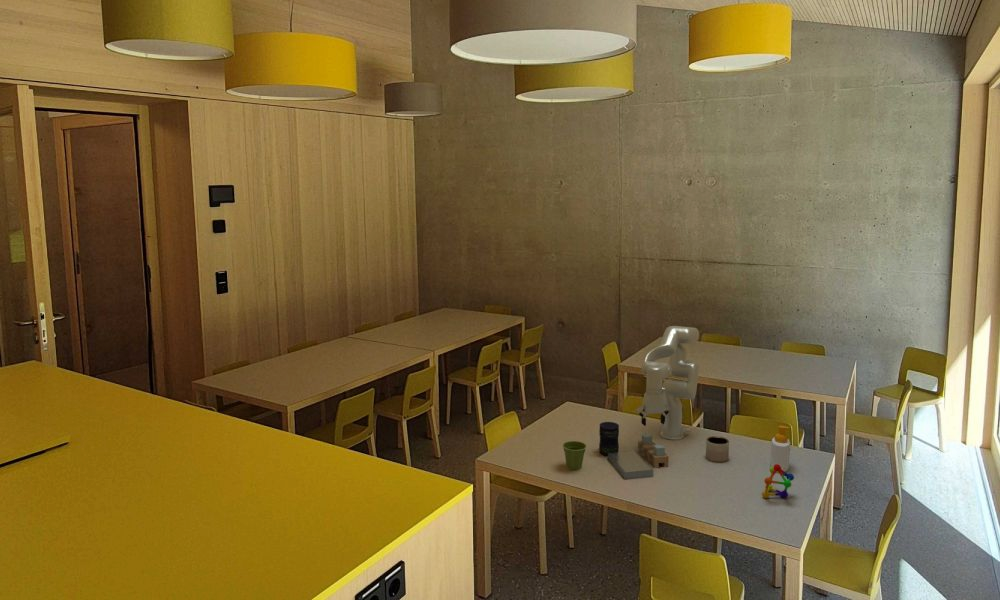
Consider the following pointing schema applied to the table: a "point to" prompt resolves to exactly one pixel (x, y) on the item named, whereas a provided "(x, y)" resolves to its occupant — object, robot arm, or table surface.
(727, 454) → the planter
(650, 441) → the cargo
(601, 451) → the storage jar
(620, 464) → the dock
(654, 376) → the robot arm
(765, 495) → the educational toy
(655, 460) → the wooden block carrier
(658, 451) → the block
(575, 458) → the plant pot
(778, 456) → the soap bottle
